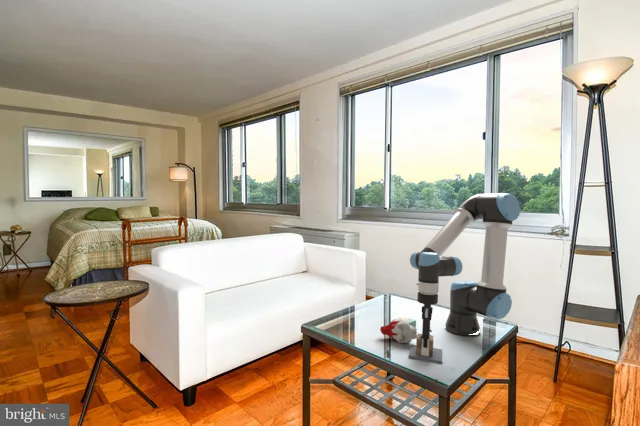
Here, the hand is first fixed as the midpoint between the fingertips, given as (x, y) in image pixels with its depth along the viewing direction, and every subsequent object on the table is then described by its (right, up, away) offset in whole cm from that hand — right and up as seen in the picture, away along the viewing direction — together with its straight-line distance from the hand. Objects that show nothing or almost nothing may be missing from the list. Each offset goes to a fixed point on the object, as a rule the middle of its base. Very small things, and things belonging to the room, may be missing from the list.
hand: (425, 351), depth 134 cm
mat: (0, -1, 0) cm, 1 cm away
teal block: (+1, -1, +30) cm, 30 cm away
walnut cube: (0, 0, 0) cm, 0 cm away
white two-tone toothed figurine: (-8, -1, +14) cm, 16 cm away
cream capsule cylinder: (-3, -1, +25) cm, 25 cm away
